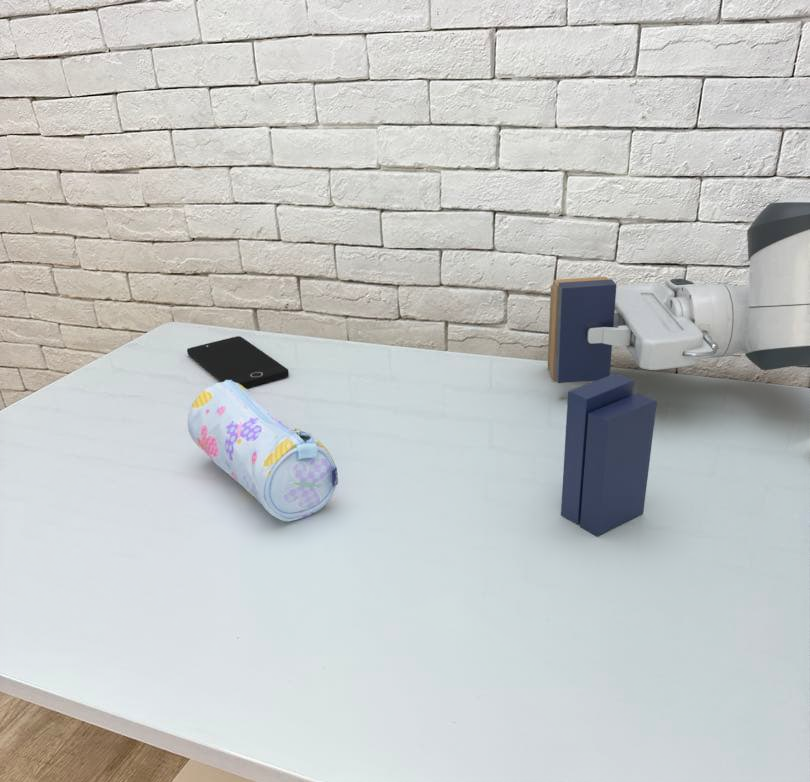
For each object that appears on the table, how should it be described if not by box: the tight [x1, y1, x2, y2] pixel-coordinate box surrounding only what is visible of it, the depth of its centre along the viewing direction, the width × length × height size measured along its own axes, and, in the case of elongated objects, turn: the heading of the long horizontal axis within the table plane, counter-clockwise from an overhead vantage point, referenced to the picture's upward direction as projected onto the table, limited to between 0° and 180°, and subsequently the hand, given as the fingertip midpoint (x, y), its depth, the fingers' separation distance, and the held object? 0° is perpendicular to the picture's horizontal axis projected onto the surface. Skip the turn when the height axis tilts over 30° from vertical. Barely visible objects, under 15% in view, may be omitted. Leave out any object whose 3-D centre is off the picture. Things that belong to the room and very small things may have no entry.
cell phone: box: [186, 335, 290, 389], centre depth 125 cm, size 9×18×1 cm, turn 32°
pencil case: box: [187, 380, 339, 522], centre depth 93 cm, size 21×9×10 cm, turn 35°
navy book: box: [555, 278, 617, 384], centre depth 106 cm, size 6×2×12 cm, turn 91°
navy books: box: [560, 372, 658, 537], centre depth 83 cm, size 7×5×14 cm
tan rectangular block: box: [546, 276, 609, 380], centre depth 113 cm, size 7×5×13 cm
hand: (583, 329), depth 105 cm, fingers closed on navy book, 2 cm apart
